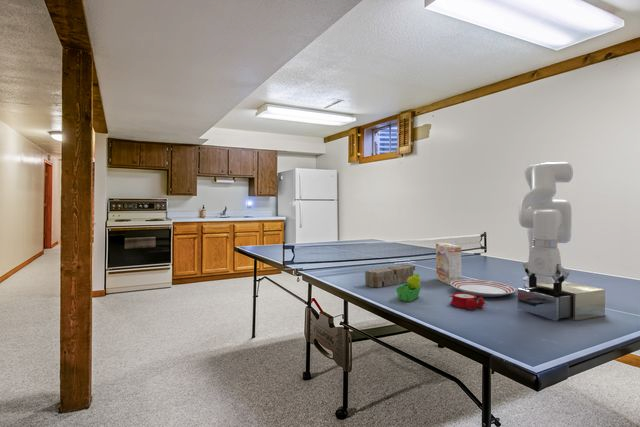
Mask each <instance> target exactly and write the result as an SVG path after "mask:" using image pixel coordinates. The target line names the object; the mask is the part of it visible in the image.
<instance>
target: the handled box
mask: <svg viewBox="0 0 640 427" xmlns="http://www.w3.org/2000/svg"><path fill="white" fill-rule="evenodd" d="M517 310H521V311H524V312H527V313H530V314H533V315H536V316H540V317H541V318H542V317H543V318H546V319H548V320H549V319H550V320H553V321H555V322H557V321H559V320H560V319H566V318H565V317H571V316H573V295H570V294H566V293H560V294H554V293H553V290H549V289H544V288H540V287H535V288H521V287H518V288H517Z"/></svg>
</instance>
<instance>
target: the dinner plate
mask: <svg viewBox="0 0 640 427" xmlns="http://www.w3.org/2000/svg"><path fill="white" fill-rule="evenodd" d="M450 284H451V285H450V286H451V287H452V288H453V289H455V290H457V291H459V292H464V293H471V294H474V295H476V296H477V297H482V298H499V297H502V296H507V295H511V294H514V293H515V292H516V291H517V290H516V288H515V287H514V286H511V285H509V284H507V283H506V284H505V283H503V282H498V281H492V280H486V279H485V280H484V279H461V280H455V281H452V282H451V283H450Z"/></svg>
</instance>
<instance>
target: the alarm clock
mask: <svg viewBox="0 0 640 427" xmlns="http://www.w3.org/2000/svg"><path fill="white" fill-rule="evenodd" d="M449 298H451V301H450V304H451V305H452V306H453V307H458V308H462V309H467V310H469V311H473V310H475V309H476V308H478V309H479V308H480V309H481V308H483V307H486V306H487V305H488V304H487V303H486V302H485V299H484V297H481V296H476V295H474V294H471V293H464V292H462V291H459V292H454V293H452V295H449Z"/></svg>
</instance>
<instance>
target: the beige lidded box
mask: <svg viewBox="0 0 640 427" xmlns="http://www.w3.org/2000/svg"><path fill="white" fill-rule="evenodd" d="M553 283H555V281H554V280H552V282H544V283H537V286H536V287H540V288H544V289H549V290H553ZM533 288H535V287H533ZM561 293H566V294H570V295H573V316H571V317H565V318H564V319H567V320H571V321H575V322H576V321H582V320H588V319H593V318H598V317H603V316H606V289H605V288H600V287H594V286H590V285H585V284H581V283H575V282H570V281H566V280H564V282H562V291H561Z"/></svg>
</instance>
